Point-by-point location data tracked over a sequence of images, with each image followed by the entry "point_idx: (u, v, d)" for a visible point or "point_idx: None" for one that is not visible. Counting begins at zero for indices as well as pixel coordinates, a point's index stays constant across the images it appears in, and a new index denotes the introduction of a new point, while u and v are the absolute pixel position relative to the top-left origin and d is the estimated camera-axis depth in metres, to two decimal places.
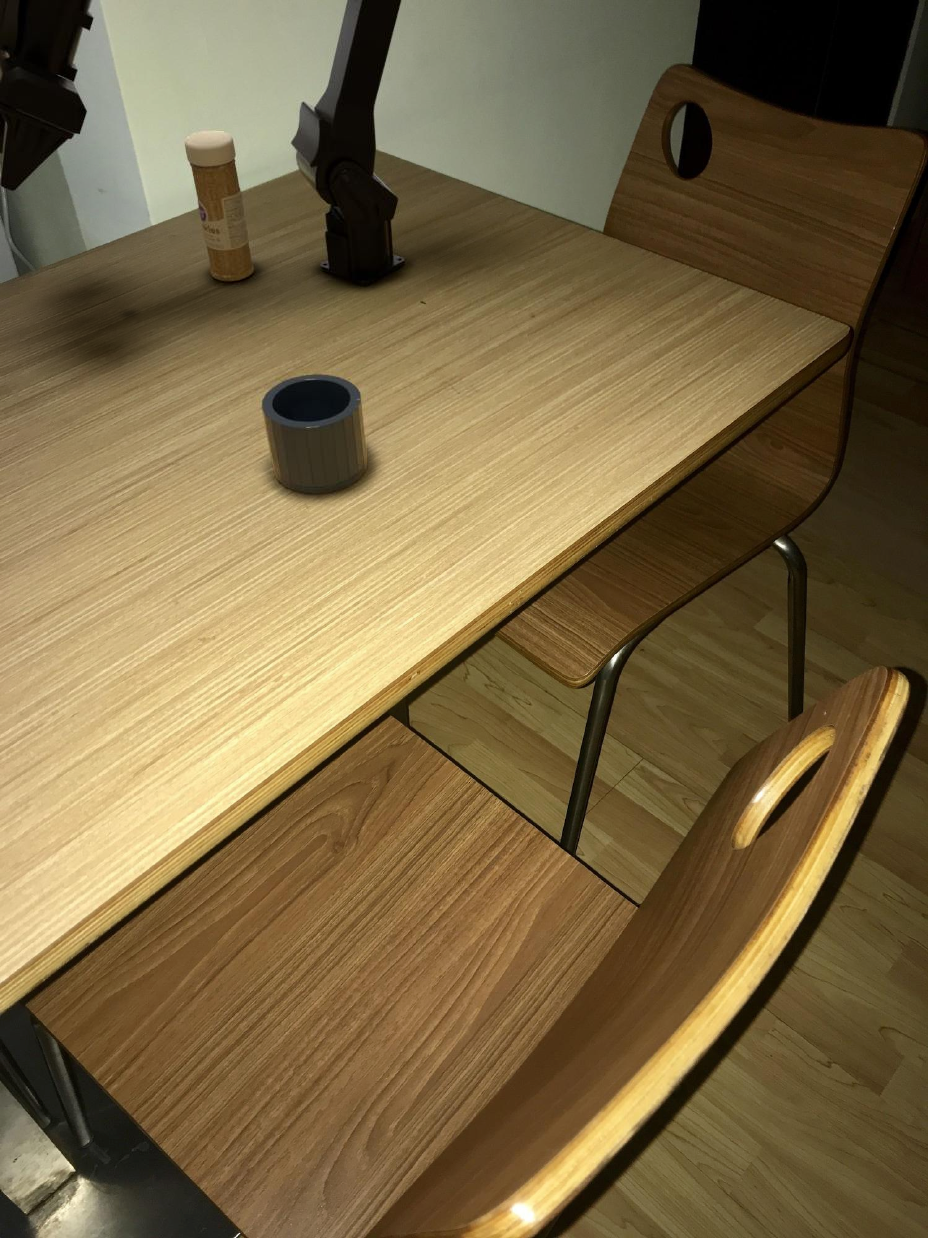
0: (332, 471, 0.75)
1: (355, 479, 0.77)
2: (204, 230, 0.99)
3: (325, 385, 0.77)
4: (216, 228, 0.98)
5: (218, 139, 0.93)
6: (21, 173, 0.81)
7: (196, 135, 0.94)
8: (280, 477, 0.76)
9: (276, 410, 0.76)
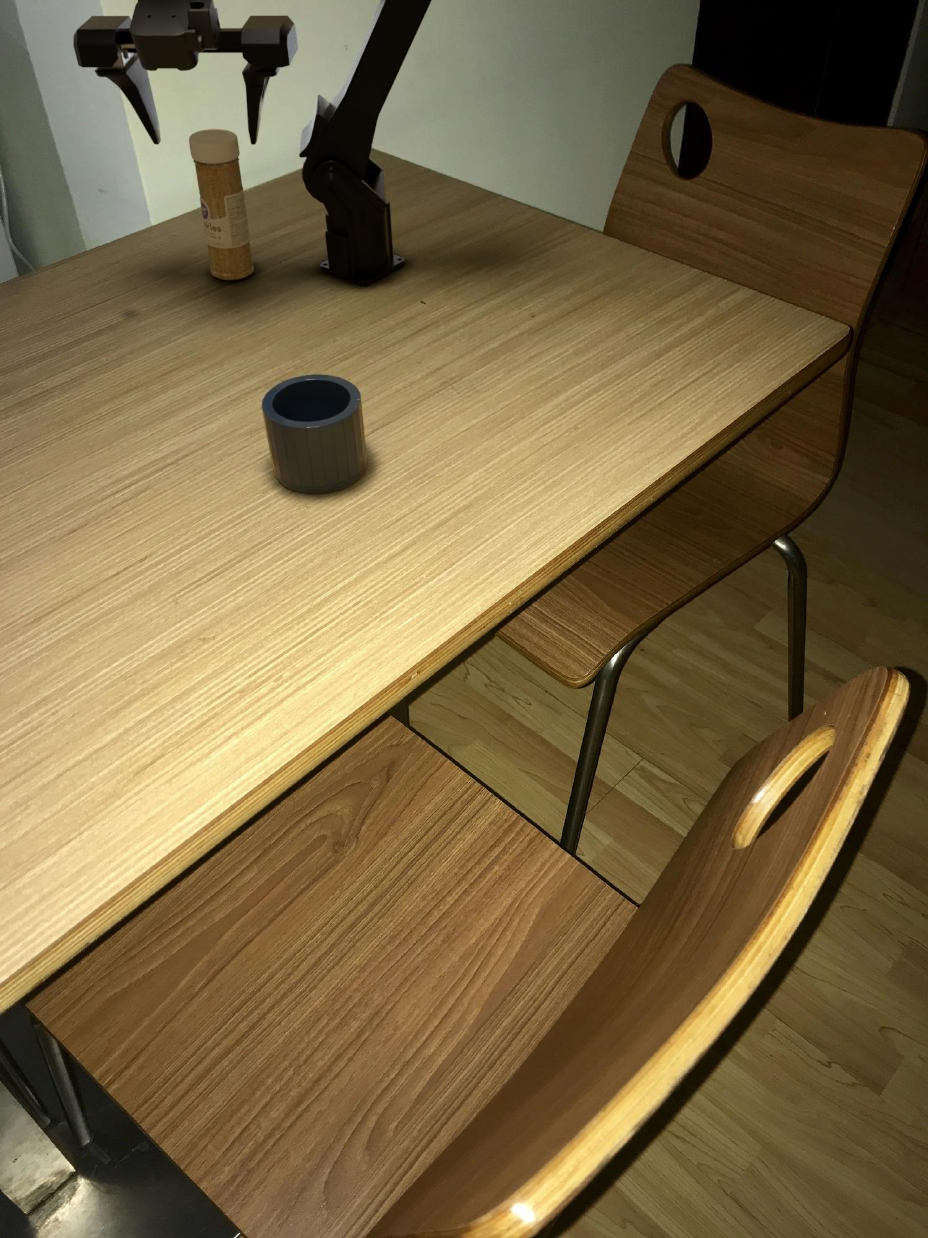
0: (332, 471, 0.75)
1: (355, 479, 0.77)
2: (205, 228, 0.99)
3: (325, 385, 0.77)
4: (218, 225, 0.98)
5: (222, 137, 0.93)
6: (260, 120, 0.93)
7: (201, 133, 0.94)
8: (280, 477, 0.76)
9: (276, 410, 0.76)
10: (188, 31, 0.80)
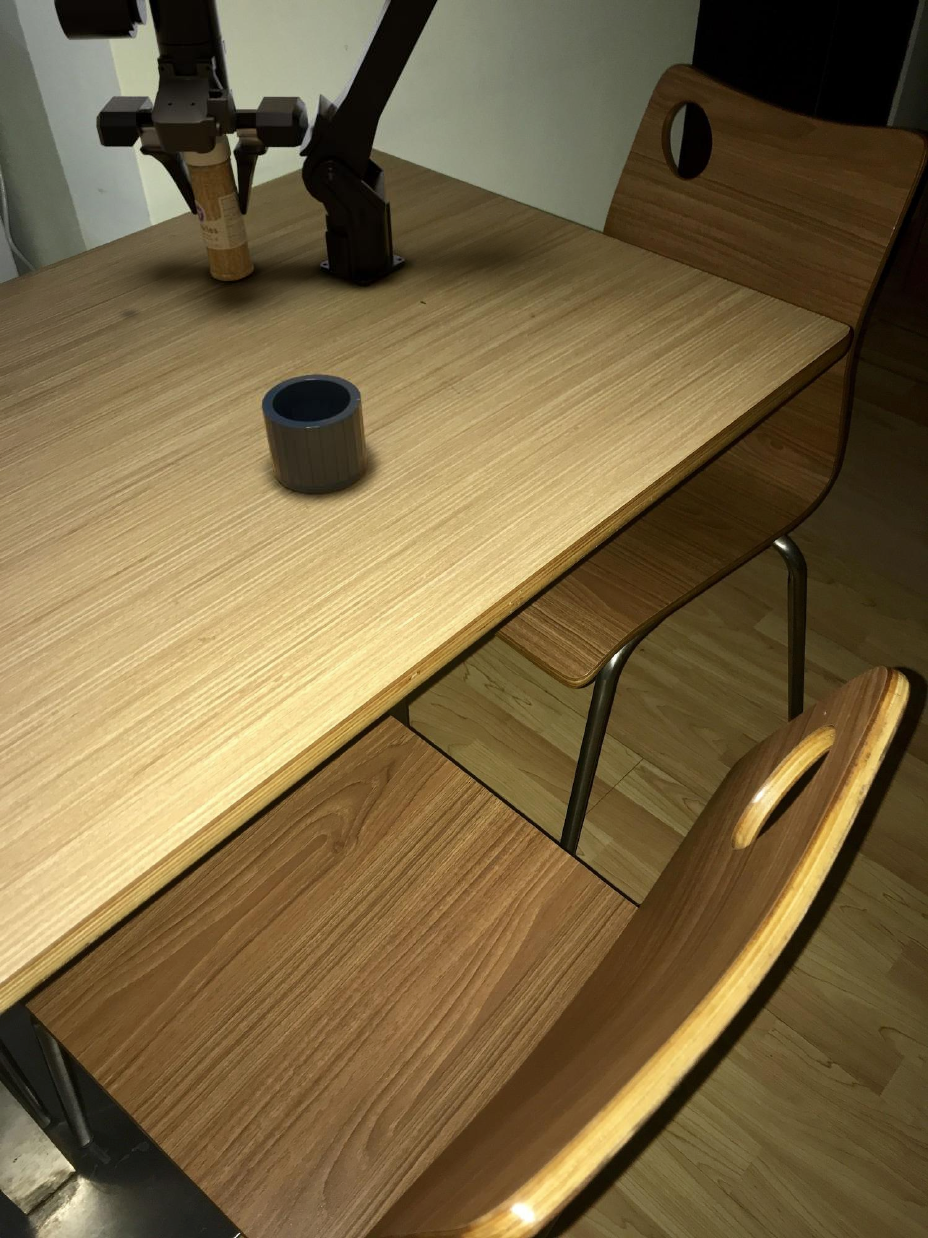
0: (332, 471, 0.75)
1: (355, 479, 0.77)
2: (202, 230, 0.99)
3: (325, 385, 0.77)
4: (214, 227, 0.97)
5: None
6: (250, 192, 0.98)
7: None
8: (280, 477, 0.76)
9: (276, 410, 0.76)
10: (207, 119, 0.85)
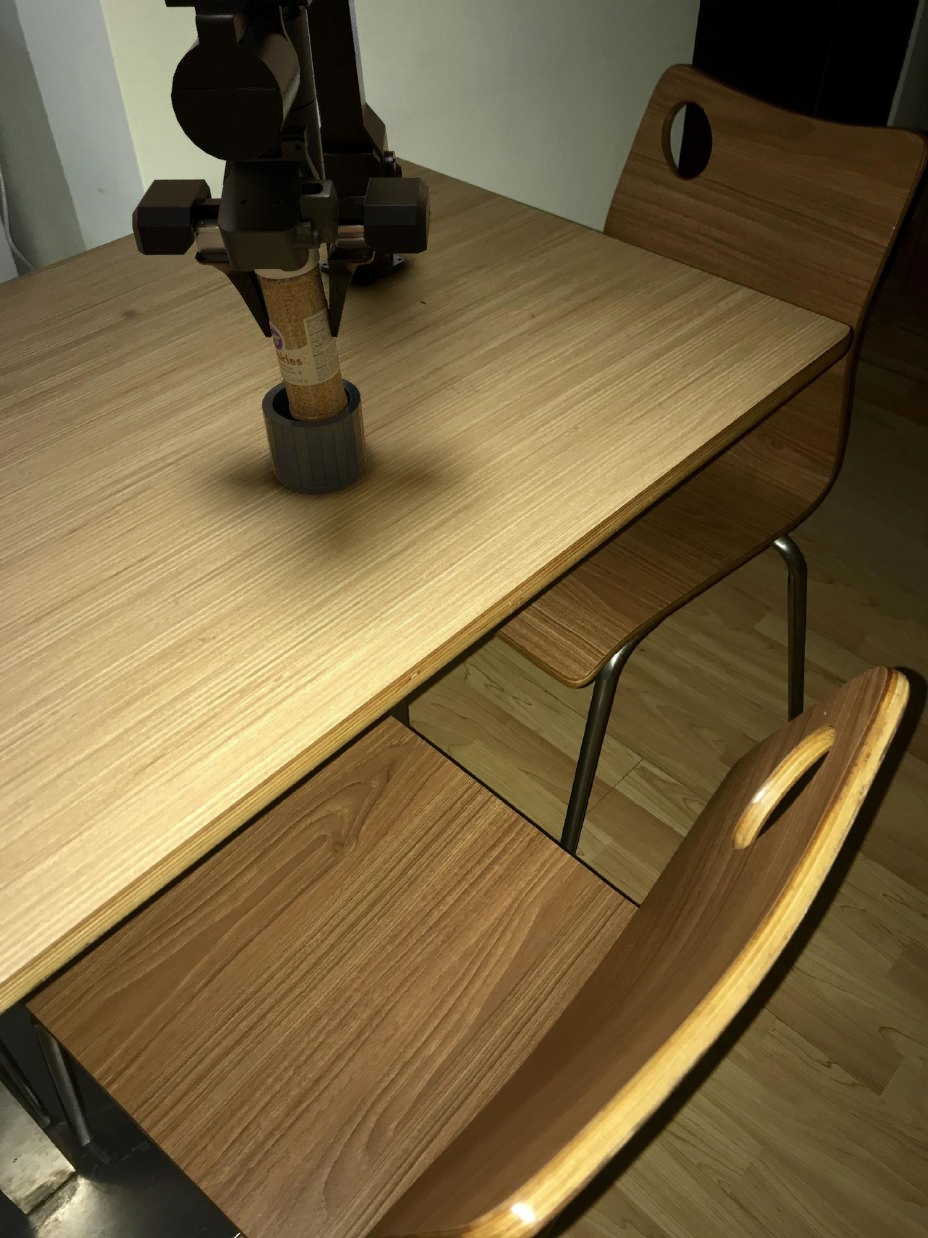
0: (332, 471, 0.75)
1: (355, 479, 0.77)
2: (280, 360, 0.71)
3: None
4: (298, 358, 0.70)
5: None
6: None
7: None
8: (280, 477, 0.76)
9: (276, 410, 0.76)
10: (301, 225, 0.57)
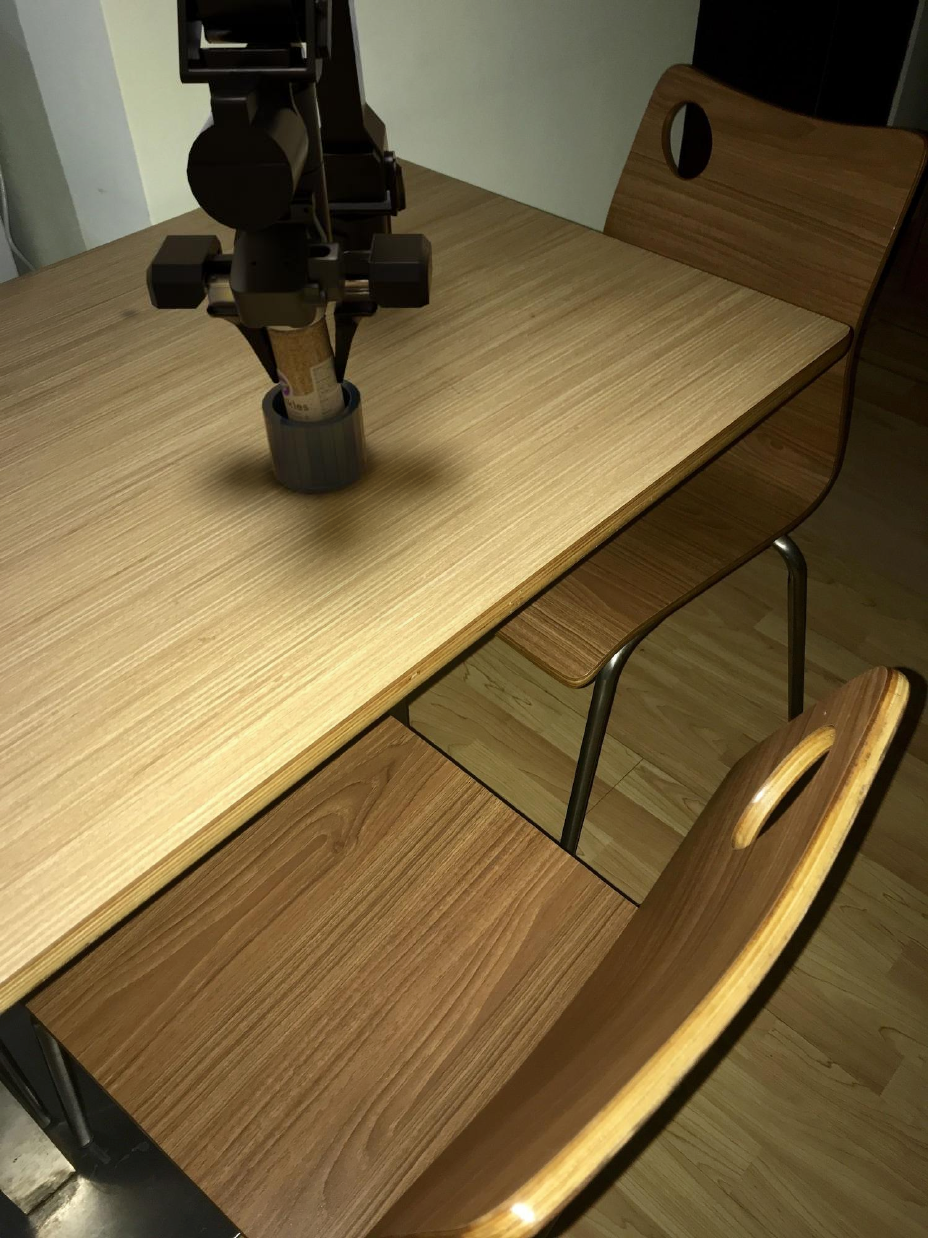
0: (332, 471, 0.75)
1: (355, 479, 0.77)
2: (287, 405, 0.73)
3: None
4: (304, 404, 0.72)
5: None
6: None
7: None
8: (280, 477, 0.76)
9: (276, 410, 0.76)
10: (309, 287, 0.60)
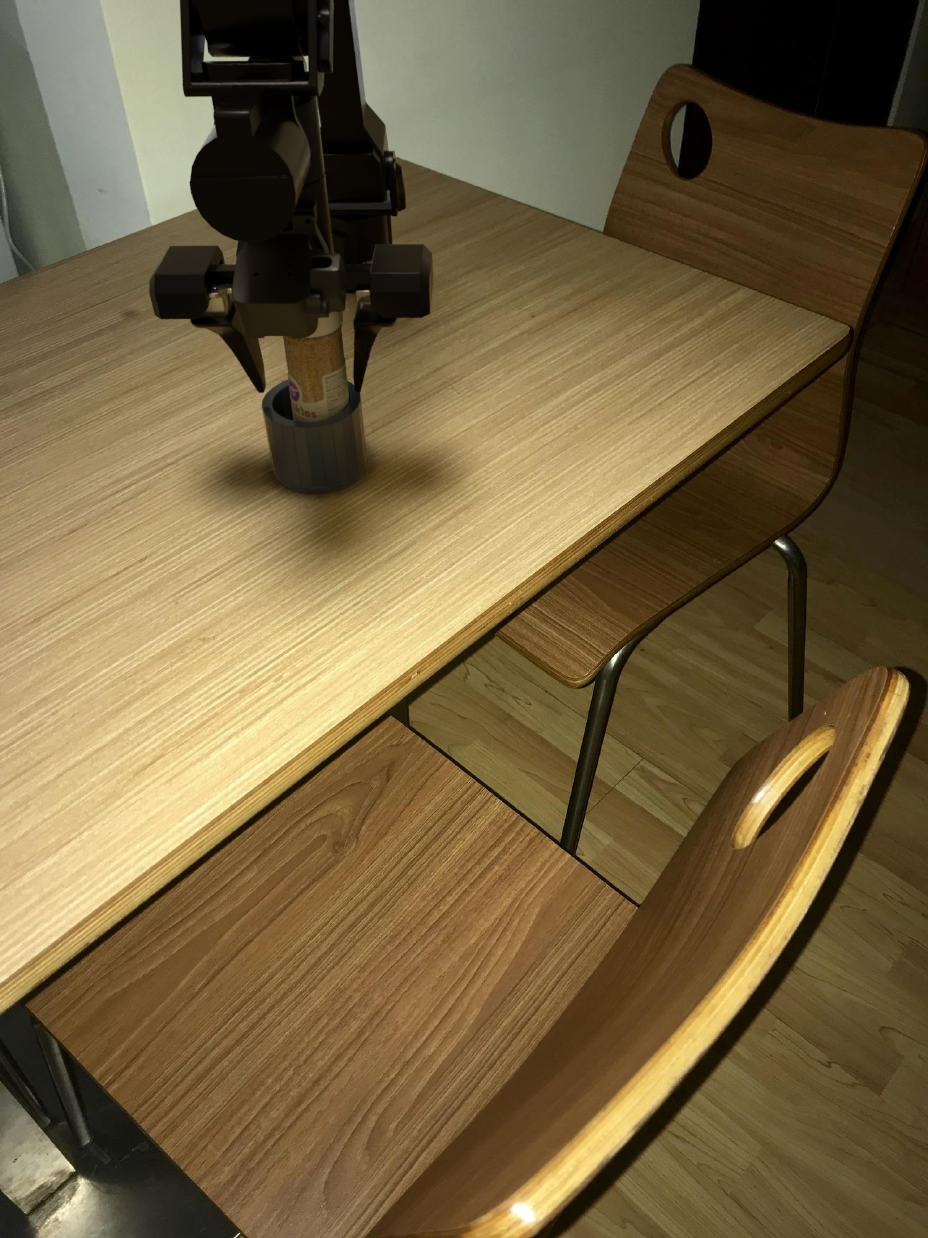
0: (332, 471, 0.75)
1: (355, 479, 0.77)
2: (294, 411, 0.74)
3: None
4: (313, 410, 0.73)
5: None
6: None
7: None
8: (280, 477, 0.76)
9: (276, 410, 0.76)
10: (310, 297, 0.60)
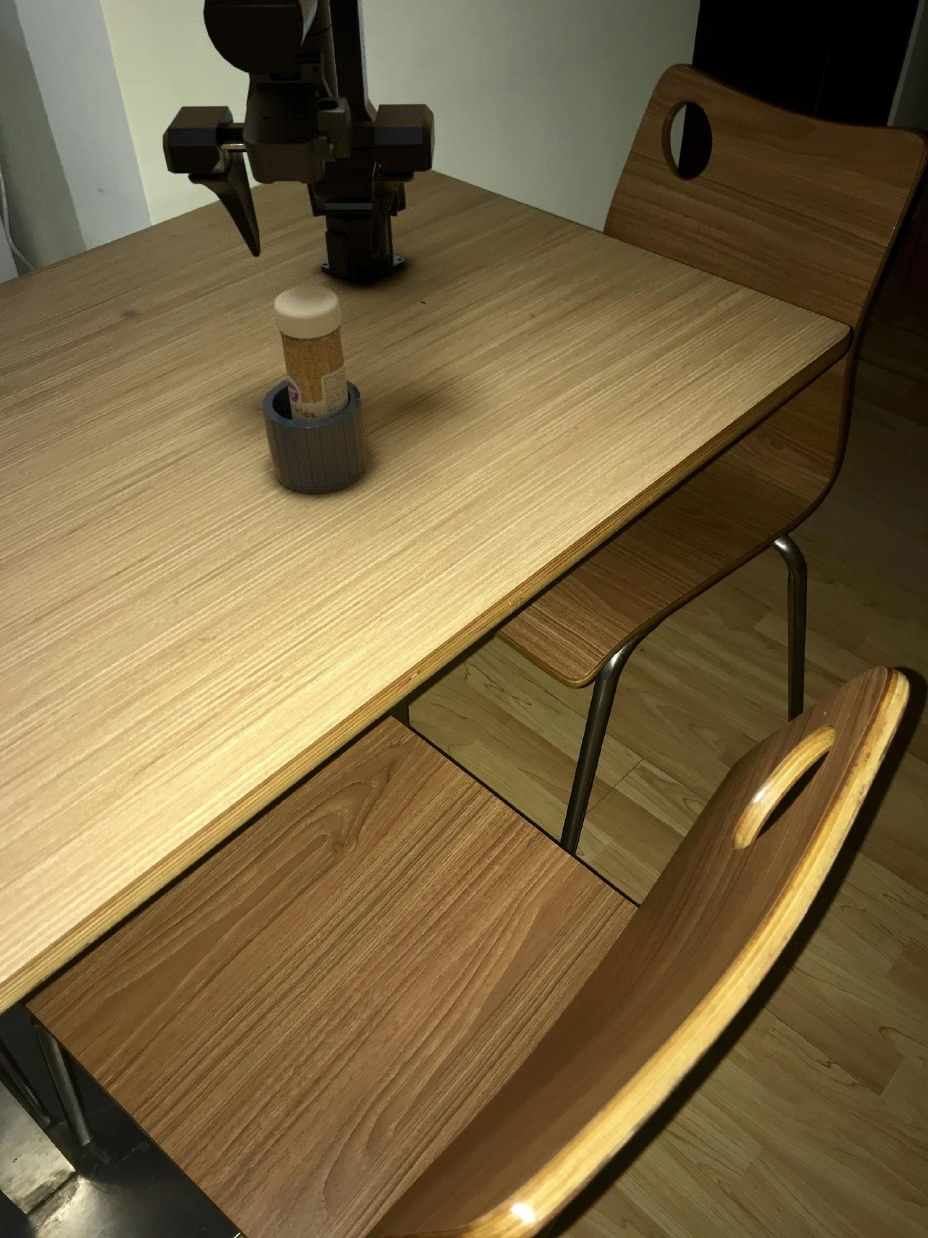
0: (332, 471, 0.75)
1: (355, 479, 0.77)
2: (294, 411, 0.74)
3: None
4: (312, 411, 0.73)
5: (320, 302, 0.68)
6: None
7: (289, 295, 0.69)
8: (280, 477, 0.76)
9: (276, 410, 0.76)
10: (318, 138, 0.63)
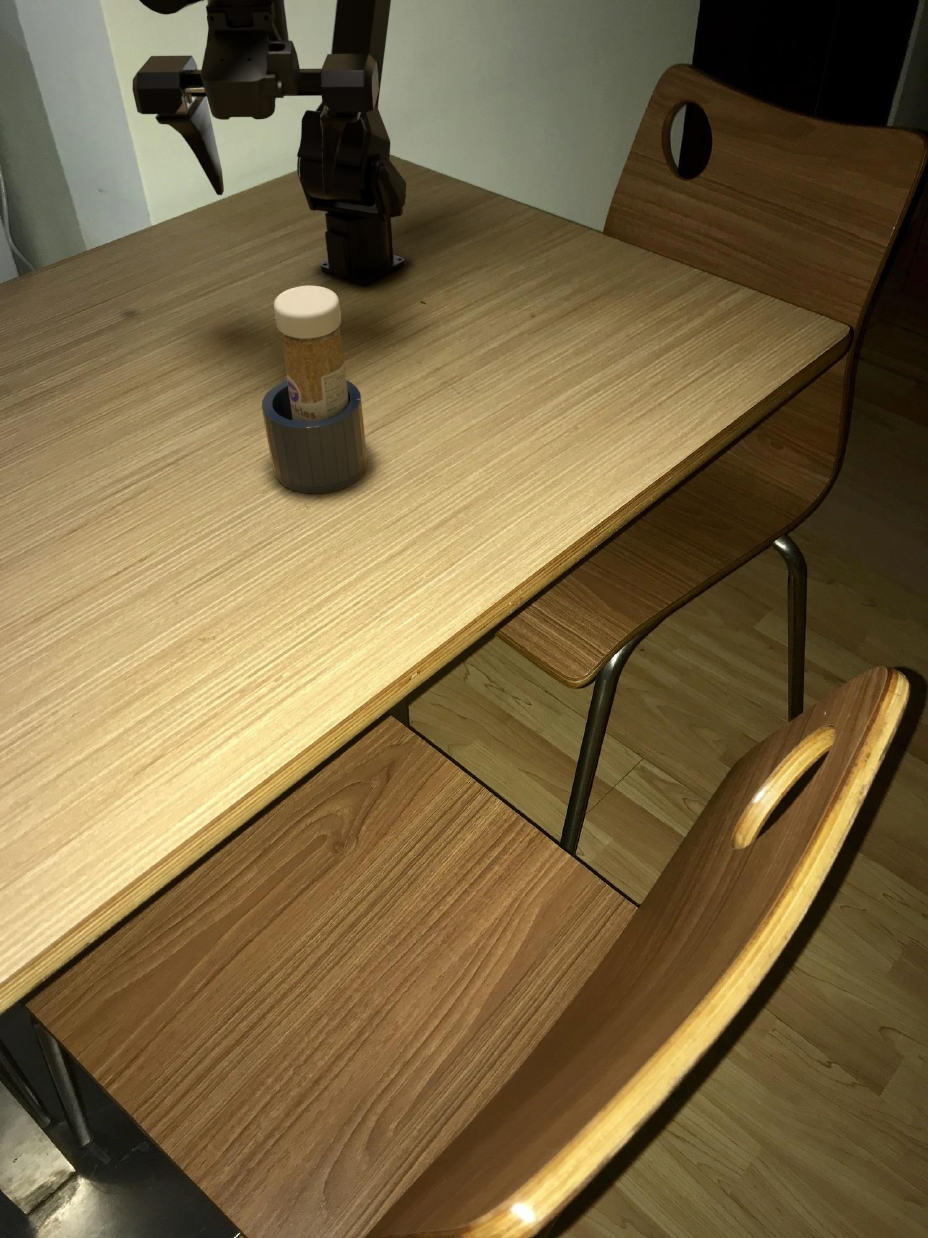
0: (332, 471, 0.75)
1: (355, 479, 0.77)
2: (294, 411, 0.74)
3: None
4: (312, 411, 0.73)
5: (320, 302, 0.68)
6: (334, 168, 0.84)
7: (289, 295, 0.69)
8: (280, 477, 0.76)
9: (276, 410, 0.76)
10: (267, 76, 0.71)
